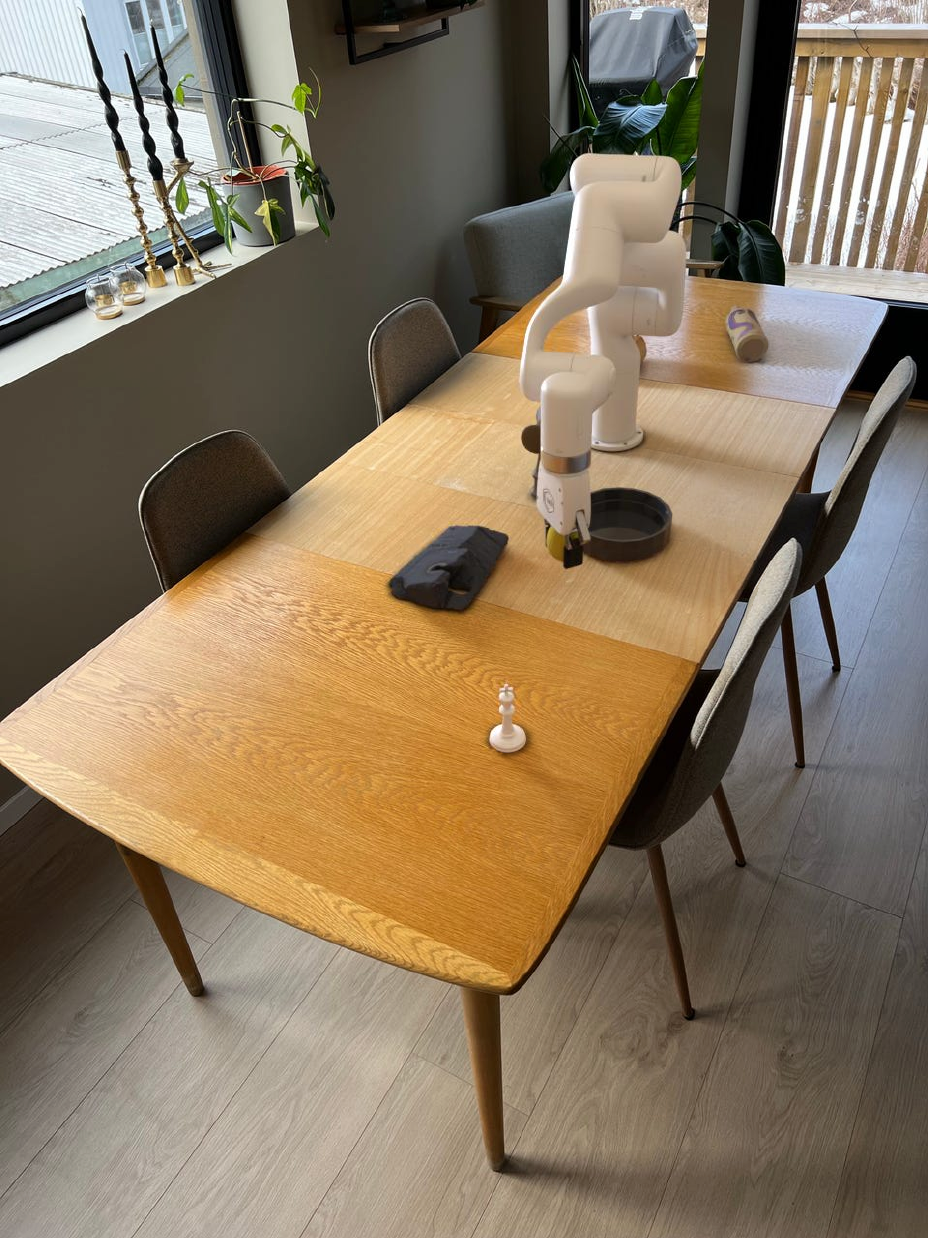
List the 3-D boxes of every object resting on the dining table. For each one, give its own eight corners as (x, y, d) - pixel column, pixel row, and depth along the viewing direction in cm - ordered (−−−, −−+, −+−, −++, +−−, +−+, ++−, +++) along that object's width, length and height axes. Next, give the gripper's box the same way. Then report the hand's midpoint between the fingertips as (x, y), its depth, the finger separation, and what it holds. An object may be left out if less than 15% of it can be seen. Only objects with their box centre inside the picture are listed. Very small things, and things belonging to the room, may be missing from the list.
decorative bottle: (767, 362, 221) (772, 334, 217) (734, 363, 222) (737, 335, 218) (749, 319, 241) (753, 292, 237) (718, 319, 242) (721, 293, 238)
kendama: (567, 484, 184) (569, 386, 171) (550, 510, 177) (551, 410, 164) (537, 479, 186) (537, 382, 173) (519, 505, 179) (518, 405, 166)
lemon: (578, 572, 154) (580, 530, 149) (544, 569, 155) (544, 527, 150) (582, 553, 159) (584, 511, 154) (548, 550, 160) (549, 509, 155)
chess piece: (487, 728, 134) (485, 674, 128) (523, 725, 134) (522, 670, 128) (491, 754, 130) (489, 699, 124) (528, 750, 130) (527, 696, 124)
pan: (553, 522, 174) (553, 501, 171) (637, 500, 178) (639, 478, 175) (599, 573, 161) (600, 551, 158) (689, 547, 165) (691, 525, 163)
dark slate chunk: (524, 548, 168) (524, 524, 165) (460, 619, 153) (459, 595, 150) (448, 526, 174) (446, 504, 171) (380, 593, 160) (377, 569, 157)
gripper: (518, 437, 150) (520, 534, 162) (569, 488, 138) (567, 590, 149) (562, 426, 152) (560, 524, 164) (616, 476, 140) (610, 578, 151)
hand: (563, 554), depth 156 cm, fingers closed on lemon, 5 cm apart
